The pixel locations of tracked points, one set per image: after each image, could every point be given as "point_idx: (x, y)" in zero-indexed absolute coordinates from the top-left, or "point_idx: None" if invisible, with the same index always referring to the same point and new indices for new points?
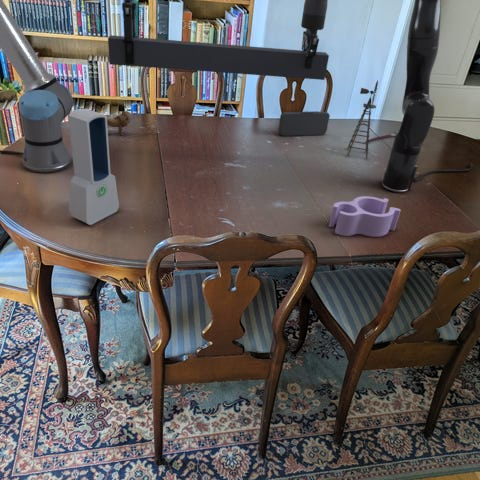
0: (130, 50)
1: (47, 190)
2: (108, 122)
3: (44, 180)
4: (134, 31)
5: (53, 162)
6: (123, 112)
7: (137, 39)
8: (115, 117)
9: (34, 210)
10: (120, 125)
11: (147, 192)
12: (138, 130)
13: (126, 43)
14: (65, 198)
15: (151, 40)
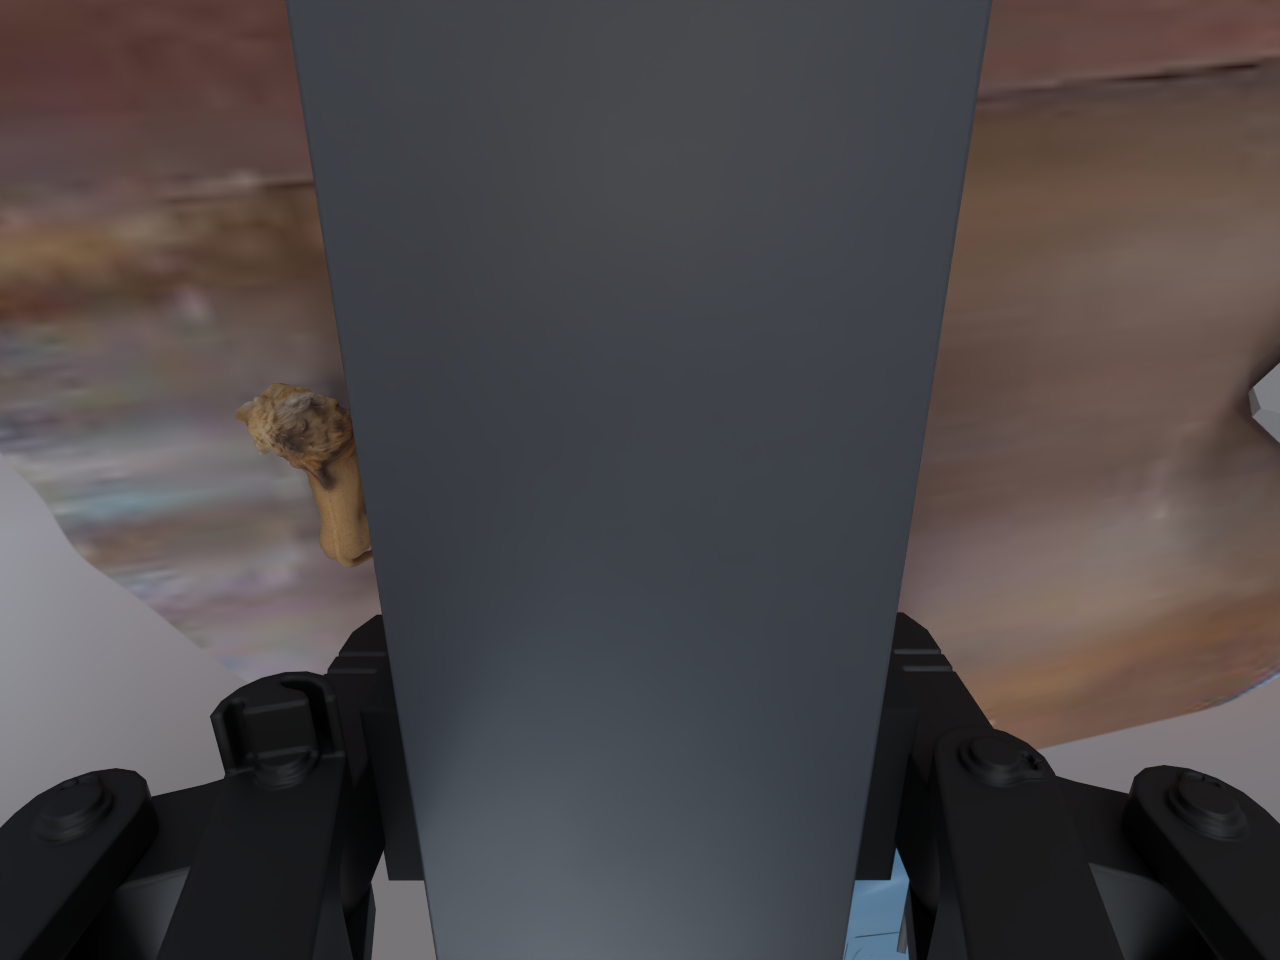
0: (940, 663)
1: (1061, 620)
2: (360, 510)
3: (966, 649)
4: (313, 926)
5: None
6: (283, 444)
7: (733, 674)
8: (322, 482)
9: (1226, 625)
10: None
11: (1148, 185)
12: (253, 323)
13: (883, 831)
14: (1145, 544)
15: (736, 193)
